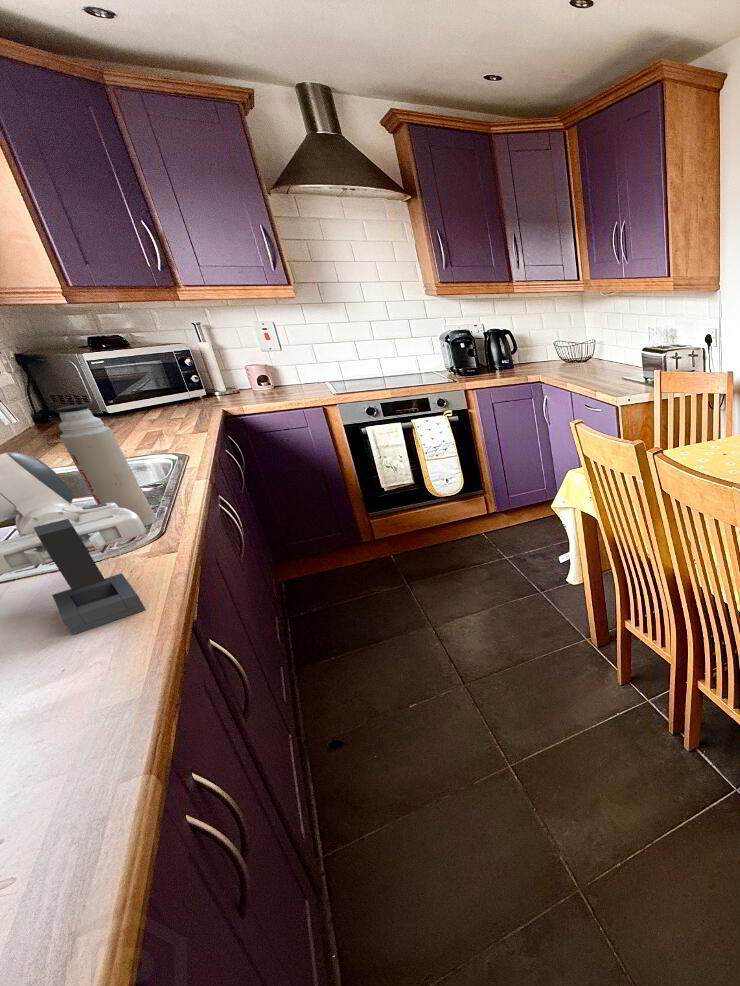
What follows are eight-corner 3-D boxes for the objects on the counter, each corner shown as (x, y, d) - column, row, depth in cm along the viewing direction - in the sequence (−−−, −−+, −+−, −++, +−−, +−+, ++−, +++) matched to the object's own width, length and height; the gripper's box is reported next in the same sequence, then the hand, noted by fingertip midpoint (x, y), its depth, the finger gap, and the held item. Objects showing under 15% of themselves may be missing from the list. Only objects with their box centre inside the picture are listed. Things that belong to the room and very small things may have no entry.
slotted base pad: (61, 609, 101) (51, 594, 100) (129, 587, 107) (121, 573, 106) (72, 635, 93) (62, 619, 92) (146, 609, 99) (137, 594, 98)
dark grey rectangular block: (67, 581, 98) (33, 527, 94) (99, 571, 101) (67, 518, 96) (72, 590, 95) (37, 535, 90) (105, 580, 97) (73, 526, 93)
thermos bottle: (110, 534, 132) (41, 412, 120) (113, 525, 137) (48, 406, 125) (156, 524, 136) (94, 405, 124) (157, 515, 142) (98, 400, 130)
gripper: (-42, 539, 94) (-40, 561, 86) (125, 499, 108) (140, 514, 100) (-19, 573, 97) (-14, 597, 89) (141, 529, 111) (158, 546, 103)
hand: (69, 552), depth 95 cm, fingers closed on dark grey rectangular block, 4 cm apart
